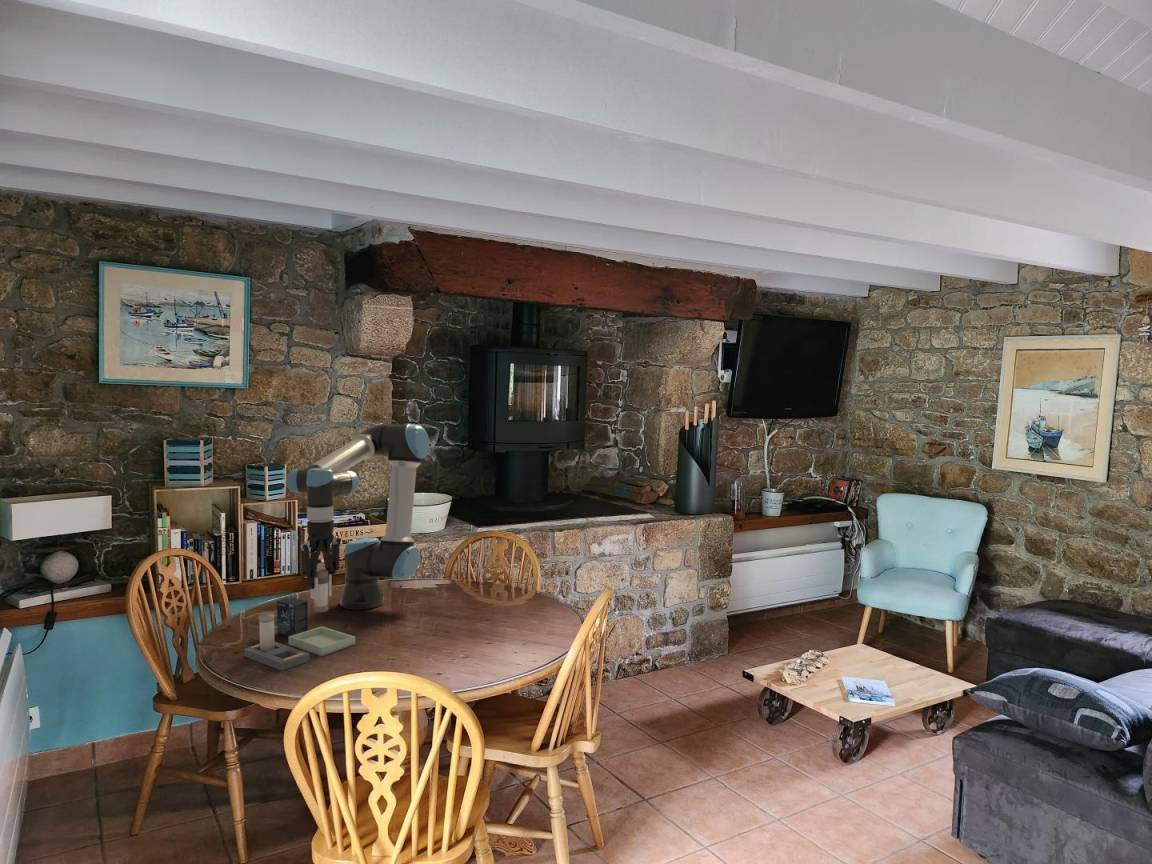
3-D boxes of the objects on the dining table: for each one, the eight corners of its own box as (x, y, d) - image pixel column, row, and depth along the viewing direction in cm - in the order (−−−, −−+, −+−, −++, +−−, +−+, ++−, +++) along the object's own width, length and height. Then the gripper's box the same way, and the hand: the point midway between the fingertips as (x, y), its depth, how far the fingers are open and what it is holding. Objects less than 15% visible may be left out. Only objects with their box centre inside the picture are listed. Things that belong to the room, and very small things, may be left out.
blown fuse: (322, 607, 236) (322, 568, 235) (331, 609, 234) (331, 570, 233) (310, 610, 233) (310, 571, 232) (319, 613, 230) (319, 573, 230)
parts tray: (288, 644, 234) (288, 636, 234) (322, 634, 244) (321, 626, 244) (321, 656, 225) (321, 647, 225) (355, 644, 235) (355, 636, 234)
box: (276, 633, 244) (276, 600, 243) (291, 628, 249) (291, 596, 248) (294, 638, 240) (293, 604, 239) (308, 633, 245) (308, 600, 244)
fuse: (269, 651, 228) (268, 611, 227) (278, 654, 225) (277, 614, 225) (256, 655, 224) (255, 615, 224) (265, 659, 222) (264, 618, 221)
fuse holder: (244, 656, 224) (244, 648, 224) (272, 647, 231) (272, 639, 231) (281, 670, 213) (281, 661, 213) (309, 661, 221) (309, 652, 221)
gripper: (336, 514, 241) (336, 588, 242) (287, 522, 227) (288, 601, 228) (351, 517, 236) (352, 592, 238) (303, 525, 222) (304, 605, 224)
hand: (321, 596), depth 233 cm, fingers closed on blown fuse, 4 cm apart
